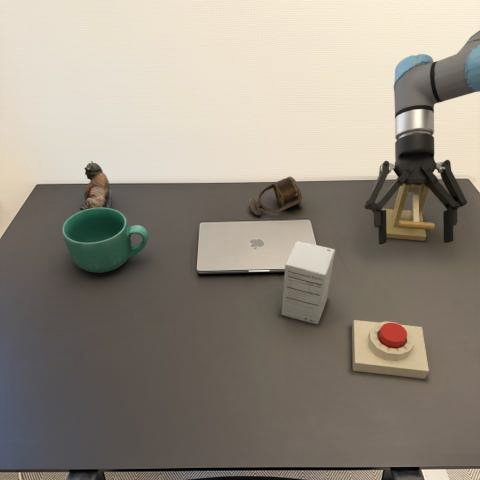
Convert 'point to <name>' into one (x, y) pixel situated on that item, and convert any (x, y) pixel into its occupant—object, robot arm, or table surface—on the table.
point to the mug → (101, 239)
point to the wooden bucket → (279, 196)
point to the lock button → (392, 335)
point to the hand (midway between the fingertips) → (415, 242)
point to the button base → (388, 351)
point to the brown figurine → (96, 188)
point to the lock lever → (415, 212)
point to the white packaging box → (307, 281)
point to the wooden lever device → (405, 216)
